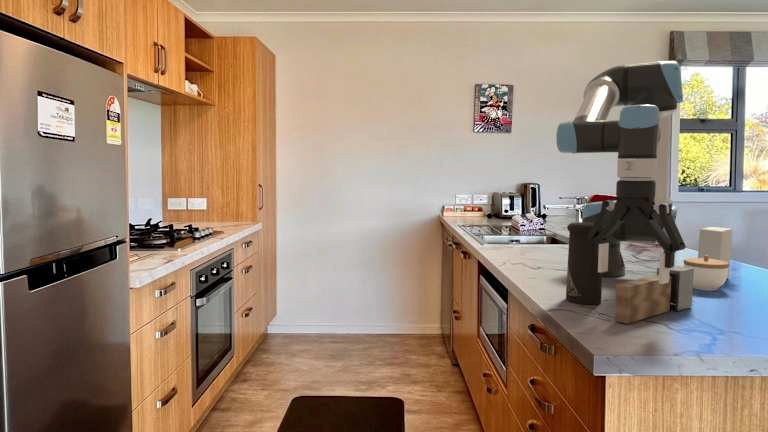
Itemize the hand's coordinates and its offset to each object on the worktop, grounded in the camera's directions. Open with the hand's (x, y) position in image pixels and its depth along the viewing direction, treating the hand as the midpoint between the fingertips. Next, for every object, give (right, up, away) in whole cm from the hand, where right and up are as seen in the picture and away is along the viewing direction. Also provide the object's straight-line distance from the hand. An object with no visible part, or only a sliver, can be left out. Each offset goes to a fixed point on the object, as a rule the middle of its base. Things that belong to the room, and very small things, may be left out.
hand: (631, 277), depth 110 cm
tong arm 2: (+5, -9, +3) cm, 11 cm away
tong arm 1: (+4, -9, +4) cm, 11 cm away
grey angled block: (+16, -9, +11) cm, 21 cm away
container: (-4, -8, +18) cm, 20 cm away
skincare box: (+47, -6, +45) cm, 65 cm away
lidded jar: (+36, -7, +32) cm, 49 cm away
